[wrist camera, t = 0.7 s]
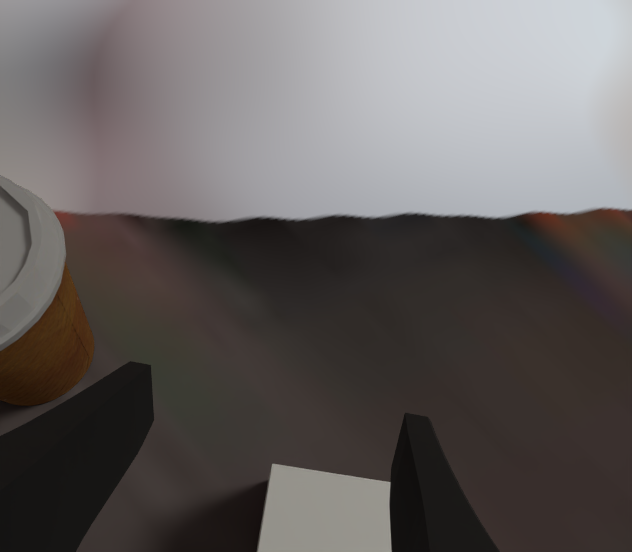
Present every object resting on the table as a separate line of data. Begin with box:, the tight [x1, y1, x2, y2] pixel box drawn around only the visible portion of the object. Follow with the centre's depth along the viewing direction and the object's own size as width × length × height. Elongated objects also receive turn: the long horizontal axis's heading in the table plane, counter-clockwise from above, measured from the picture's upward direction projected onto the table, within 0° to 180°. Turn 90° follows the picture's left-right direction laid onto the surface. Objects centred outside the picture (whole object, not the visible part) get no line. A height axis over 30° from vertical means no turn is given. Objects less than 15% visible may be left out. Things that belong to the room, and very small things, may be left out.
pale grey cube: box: [256, 464, 392, 552], centre depth 23 cm, size 6×6×6 cm
